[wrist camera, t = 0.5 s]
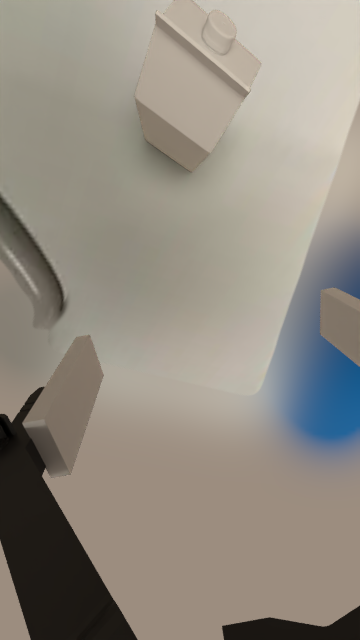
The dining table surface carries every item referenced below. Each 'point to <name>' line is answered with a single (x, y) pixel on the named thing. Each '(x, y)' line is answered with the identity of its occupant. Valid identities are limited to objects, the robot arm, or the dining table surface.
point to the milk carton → (192, 81)
